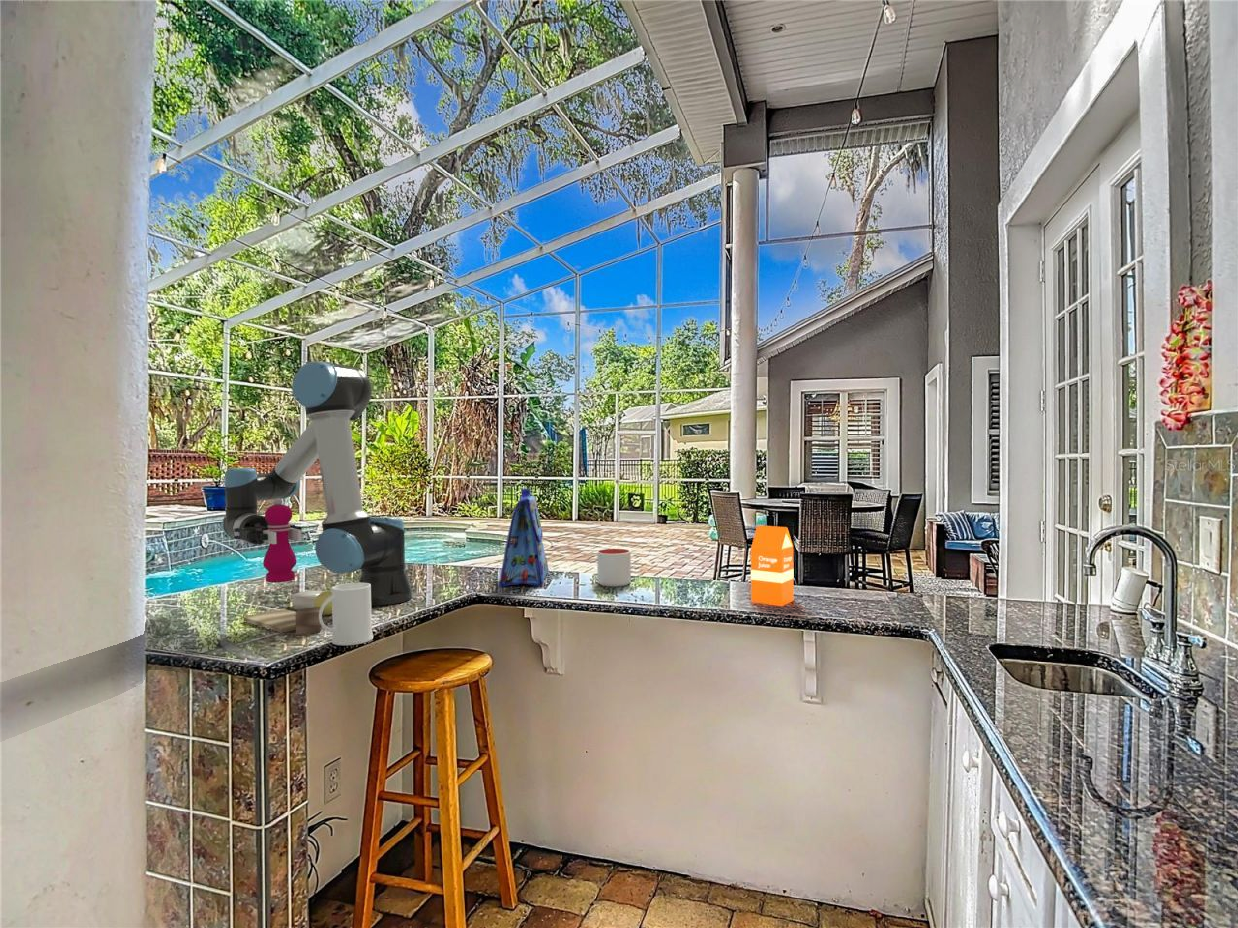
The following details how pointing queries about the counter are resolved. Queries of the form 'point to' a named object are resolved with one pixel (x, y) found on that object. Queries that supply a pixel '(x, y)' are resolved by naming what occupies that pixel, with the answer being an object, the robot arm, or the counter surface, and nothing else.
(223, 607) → the counter surface
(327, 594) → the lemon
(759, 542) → the orange juice
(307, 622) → the walnut block
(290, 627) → the serving board
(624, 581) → the cup
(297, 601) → the white rounded piece
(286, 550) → the pepper mill
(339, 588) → the mug
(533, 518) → the lunch bag
